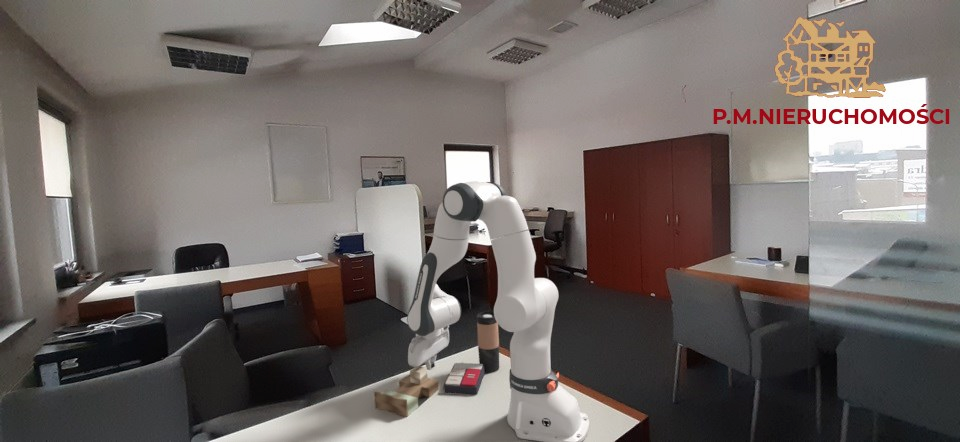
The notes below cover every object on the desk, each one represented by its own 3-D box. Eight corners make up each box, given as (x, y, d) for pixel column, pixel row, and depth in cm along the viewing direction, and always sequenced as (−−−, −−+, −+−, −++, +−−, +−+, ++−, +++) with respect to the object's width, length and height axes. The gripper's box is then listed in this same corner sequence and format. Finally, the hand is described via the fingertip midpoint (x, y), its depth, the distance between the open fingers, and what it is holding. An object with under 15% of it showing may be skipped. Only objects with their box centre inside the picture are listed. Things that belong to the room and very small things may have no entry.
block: (427, 379, 130) (426, 367, 130) (420, 384, 126) (419, 372, 126) (417, 376, 132) (417, 365, 131) (410, 382, 128) (409, 370, 128)
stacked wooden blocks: (438, 389, 129) (438, 374, 128) (406, 417, 114) (405, 400, 113) (409, 382, 134) (408, 368, 134) (375, 408, 119) (374, 392, 119)
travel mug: (504, 367, 142) (502, 314, 141) (490, 375, 137) (487, 319, 135) (488, 361, 148) (486, 310, 146) (474, 368, 142) (472, 315, 141)
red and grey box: (443, 383, 126) (454, 361, 140) (444, 396, 126) (455, 372, 141) (476, 385, 124) (484, 362, 138) (477, 397, 124) (485, 373, 139)
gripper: (417, 341, 123) (420, 383, 124) (451, 321, 142) (453, 357, 143) (402, 339, 126) (404, 380, 127) (436, 319, 144) (438, 355, 145)
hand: (430, 368), depth 135 cm, fingers closed
